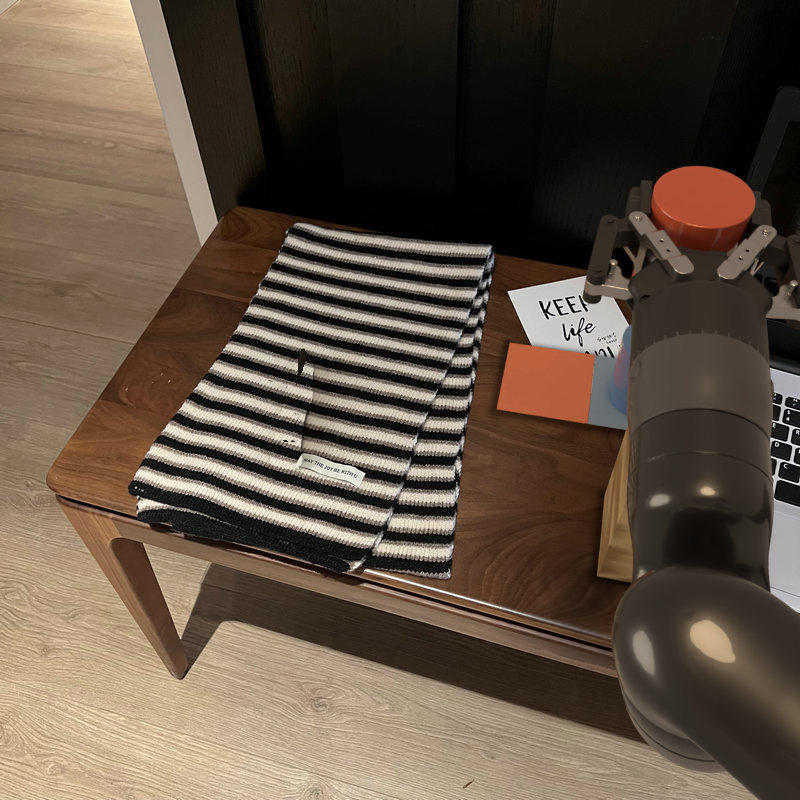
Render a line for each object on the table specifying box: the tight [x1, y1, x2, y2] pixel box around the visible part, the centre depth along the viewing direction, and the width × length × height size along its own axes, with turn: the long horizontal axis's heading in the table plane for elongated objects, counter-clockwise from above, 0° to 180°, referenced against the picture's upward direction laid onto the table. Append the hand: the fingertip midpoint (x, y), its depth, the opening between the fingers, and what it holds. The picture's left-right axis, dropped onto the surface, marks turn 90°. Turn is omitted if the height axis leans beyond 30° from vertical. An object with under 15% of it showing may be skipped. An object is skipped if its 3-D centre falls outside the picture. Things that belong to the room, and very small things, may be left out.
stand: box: [596, 426, 633, 583], centre depth 70 cm, size 9×9×16 cm
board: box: [496, 342, 628, 431], centre depth 88 cm, size 20×10×1 cm, turn 77°
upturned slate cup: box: [608, 323, 632, 415], centre depth 83 cm, size 6×6×9 cm
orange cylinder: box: [630, 165, 755, 279], centre depth 54 cm, size 6×6×9 cm
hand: (696, 196), depth 54 cm, fingers closed on orange cylinder, 6 cm apart
